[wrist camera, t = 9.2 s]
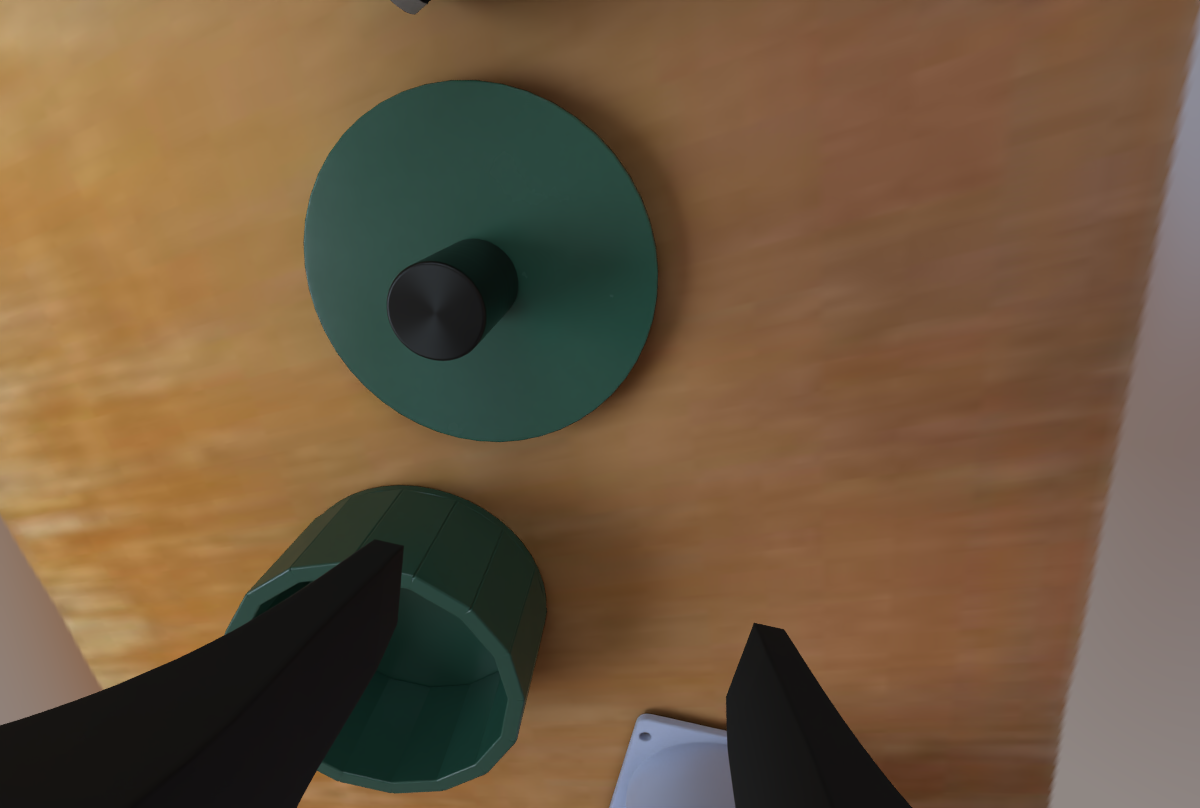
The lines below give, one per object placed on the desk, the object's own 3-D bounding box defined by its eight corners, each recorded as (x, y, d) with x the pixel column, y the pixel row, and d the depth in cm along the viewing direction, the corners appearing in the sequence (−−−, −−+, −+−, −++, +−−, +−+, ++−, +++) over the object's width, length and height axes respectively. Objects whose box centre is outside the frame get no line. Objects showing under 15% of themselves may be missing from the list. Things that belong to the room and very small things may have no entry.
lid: (618, 458, 23) (606, 540, 18) (317, 391, 23) (228, 456, 18) (697, 127, 18) (709, 122, 14) (324, 46, 18) (208, 12, 14)
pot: (526, 710, 28) (500, 818, 24) (299, 659, 28) (230, 758, 24) (566, 518, 24) (545, 605, 19) (301, 458, 24) (217, 532, 19)
